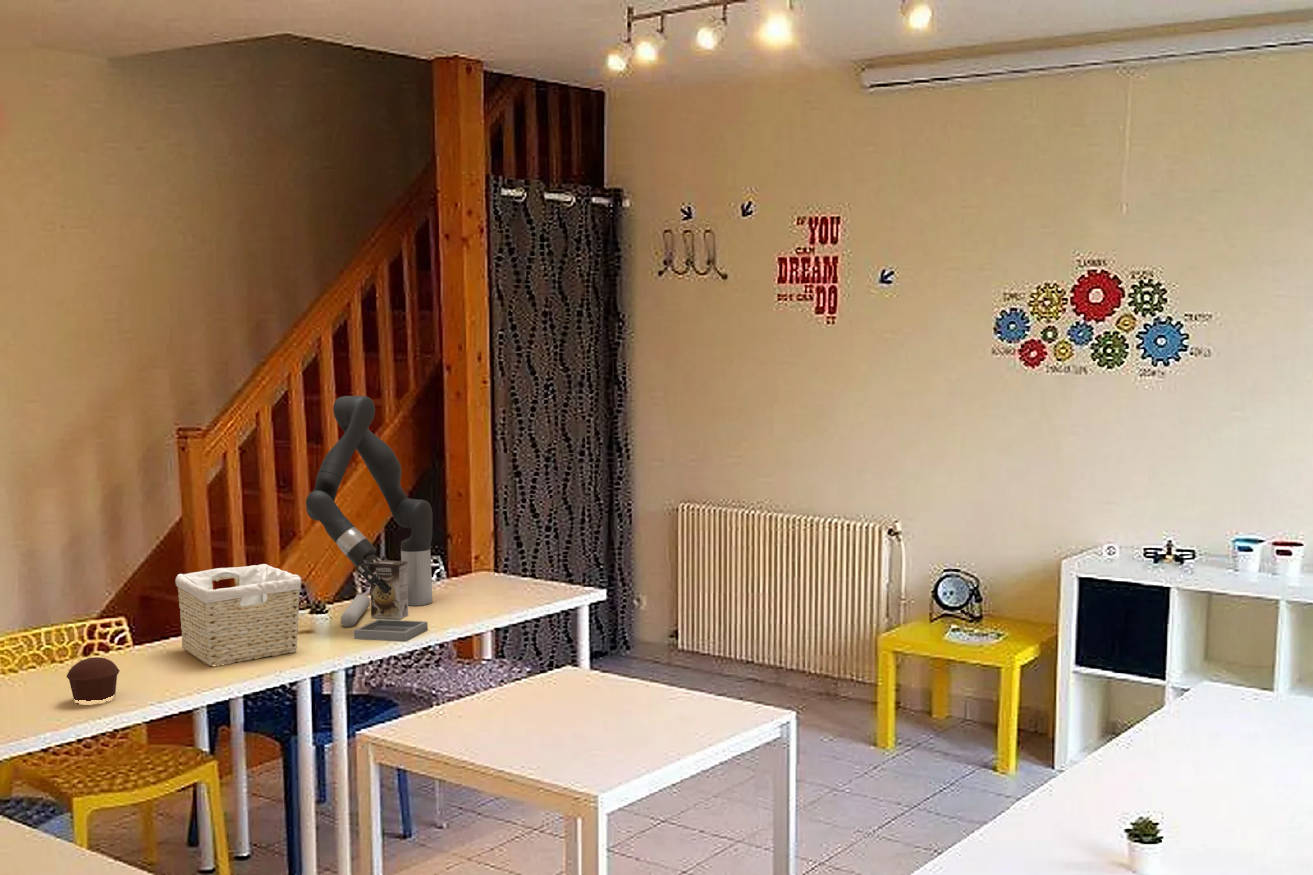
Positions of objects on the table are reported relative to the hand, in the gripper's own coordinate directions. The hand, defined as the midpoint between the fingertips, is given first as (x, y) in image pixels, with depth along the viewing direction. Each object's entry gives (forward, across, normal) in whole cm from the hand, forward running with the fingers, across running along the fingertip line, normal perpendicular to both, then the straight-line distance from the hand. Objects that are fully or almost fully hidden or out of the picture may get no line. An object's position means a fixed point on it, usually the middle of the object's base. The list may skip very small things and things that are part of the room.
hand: (394, 588), depth 374 cm
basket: (-13, -26, +33) cm, 45 cm away
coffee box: (+5, 0, +7) cm, 9 cm away
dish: (+8, 0, +10) cm, 13 cm away
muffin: (-19, -76, +39) cm, 87 cm away
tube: (-6, +17, +26) cm, 31 cm away
